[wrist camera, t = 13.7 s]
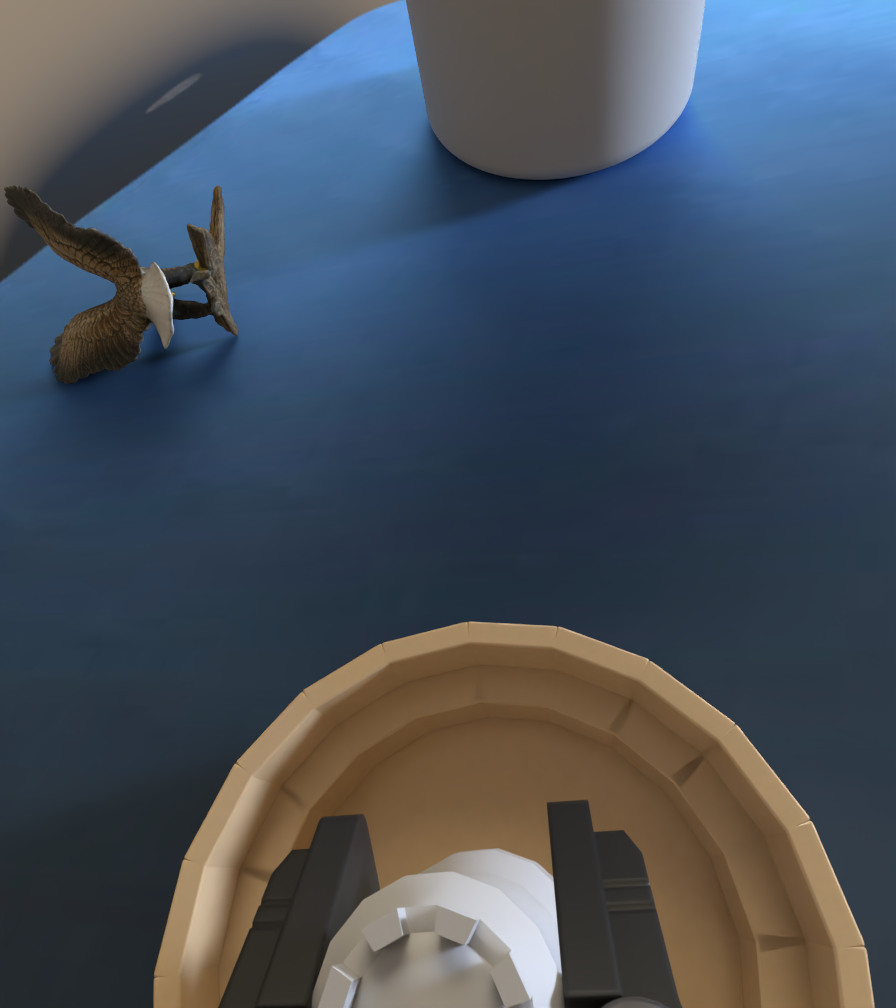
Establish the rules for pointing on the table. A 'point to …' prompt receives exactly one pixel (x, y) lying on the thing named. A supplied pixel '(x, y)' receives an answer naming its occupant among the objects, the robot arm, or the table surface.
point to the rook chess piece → (450, 940)
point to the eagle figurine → (126, 288)
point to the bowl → (529, 807)
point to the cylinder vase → (554, 79)
